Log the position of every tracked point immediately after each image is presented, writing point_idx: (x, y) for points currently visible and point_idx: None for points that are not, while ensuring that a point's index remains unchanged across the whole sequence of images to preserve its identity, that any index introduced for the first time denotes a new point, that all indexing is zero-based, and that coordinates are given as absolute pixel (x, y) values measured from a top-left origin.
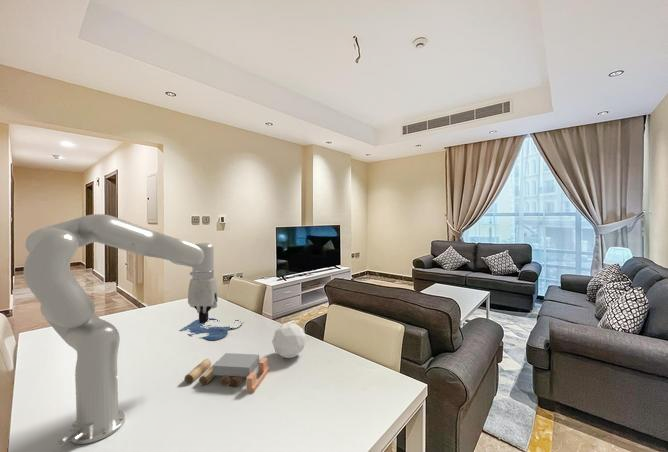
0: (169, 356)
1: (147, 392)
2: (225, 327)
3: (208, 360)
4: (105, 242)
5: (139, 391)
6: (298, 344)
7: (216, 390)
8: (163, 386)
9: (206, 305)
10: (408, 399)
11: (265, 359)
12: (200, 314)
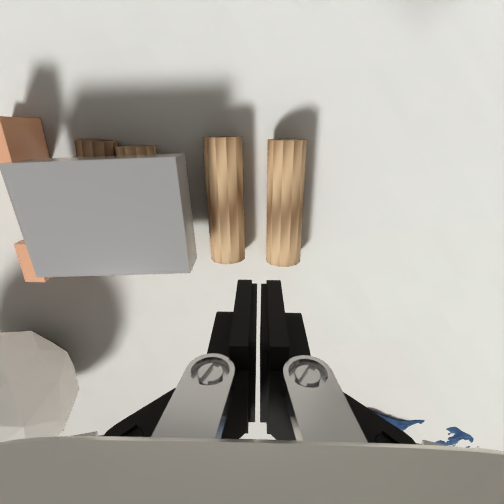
0: (463, 299)
1: (415, 47)
2: None
3: (274, 260)
4: None
5: (452, 48)
6: None
7: (153, 109)
8: (373, 100)
9: (35, 448)
10: None
11: (26, 271)
12: (270, 338)
